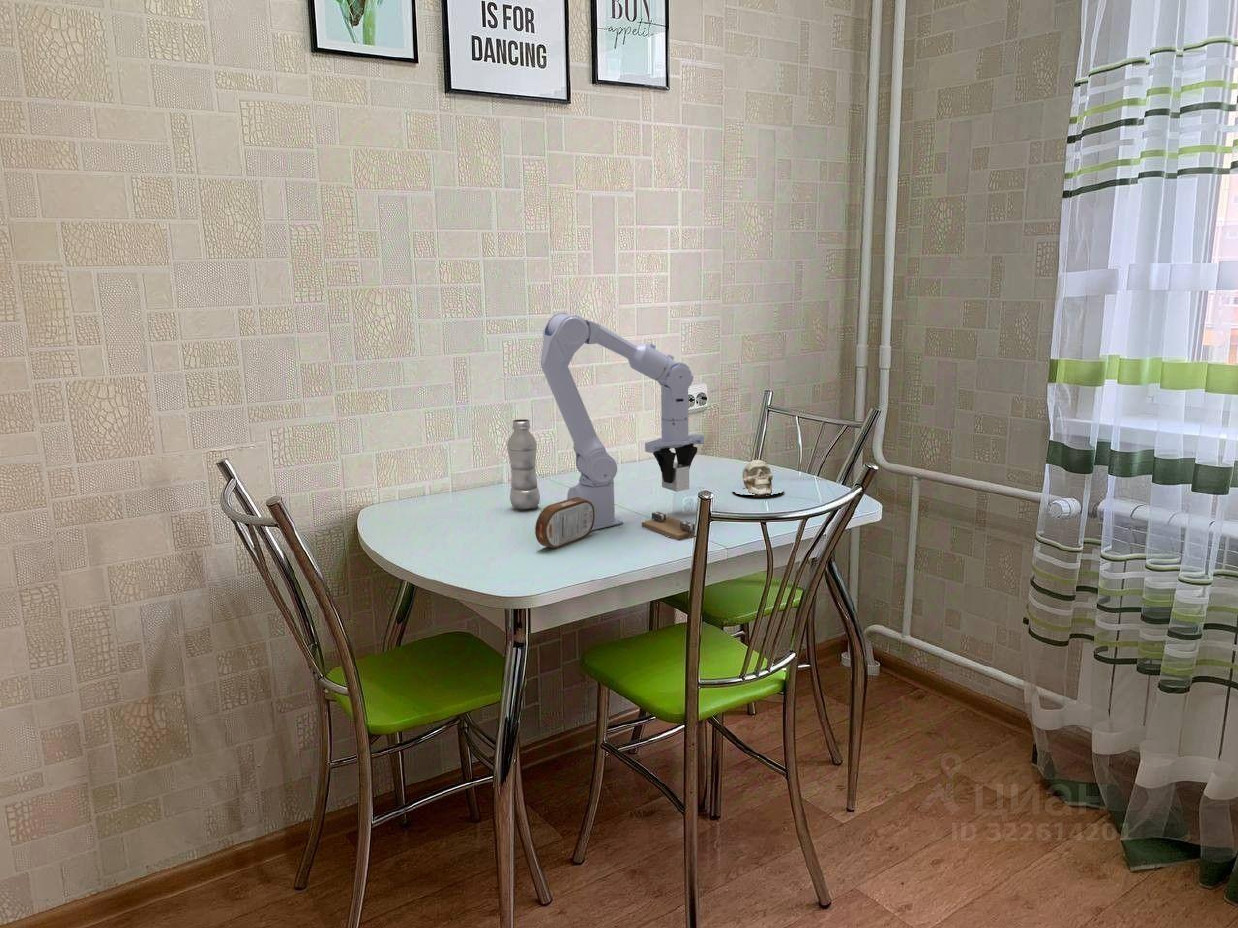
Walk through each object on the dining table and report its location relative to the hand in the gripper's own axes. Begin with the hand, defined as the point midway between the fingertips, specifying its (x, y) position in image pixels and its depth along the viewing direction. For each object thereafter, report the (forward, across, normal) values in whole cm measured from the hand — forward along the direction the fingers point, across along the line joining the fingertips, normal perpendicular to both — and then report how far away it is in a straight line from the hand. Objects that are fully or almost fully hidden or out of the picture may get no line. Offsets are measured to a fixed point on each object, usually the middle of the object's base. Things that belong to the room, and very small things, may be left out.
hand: (675, 480), depth 197 cm
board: (+7, -8, -9) cm, 14 cm away
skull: (+8, +26, +2) cm, 27 cm away
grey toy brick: (+2, 0, 0) cm, 2 cm away
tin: (+8, -29, -2) cm, 30 cm away
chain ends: (+7, -8, -9) cm, 14 cm away
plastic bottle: (+8, -23, +25) cm, 35 cm away
